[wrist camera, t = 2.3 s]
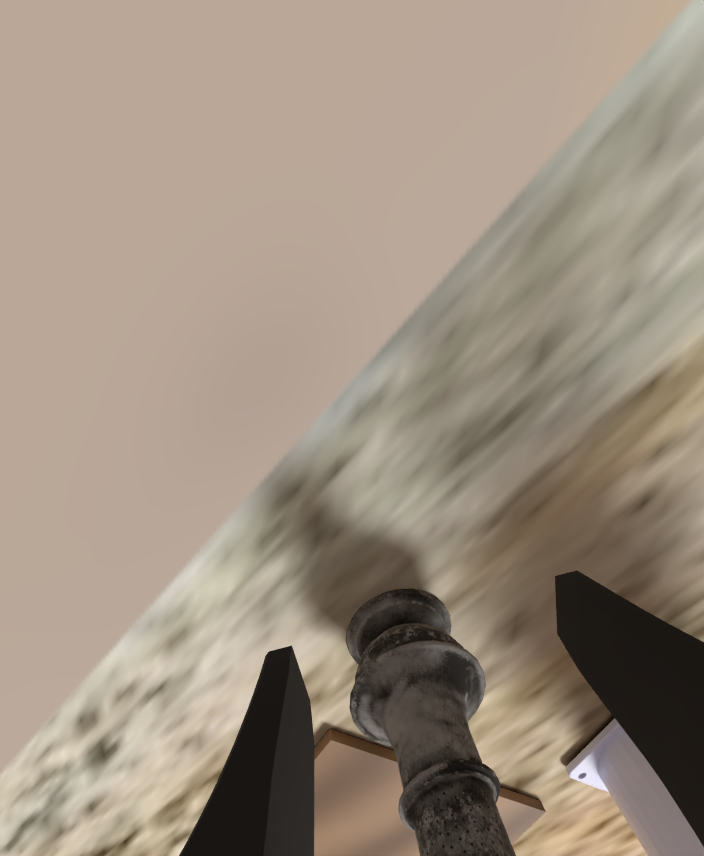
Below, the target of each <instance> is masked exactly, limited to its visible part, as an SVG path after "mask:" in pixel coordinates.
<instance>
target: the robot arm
mask: <svg viewBox="0 0 704 856" xmlns="http://www.w3.org/2000/svg"><path fill="white" fill-rule="evenodd" d="M555 586H556V610H557V634H558V636H559V637H560V639H561V641H562V642H563V644H564V646H565V648H566V649H567V651H568V653H569V655H570V656H571V658H572V659H573V661H574V663H575V664H576V666H577V668H578V669H579V671H580V672H581V674H582V675H583V676H584V678H585V679H586V681H587V682H588V683H589V685H590V686H591V687H592V689H593V690H594V691H595V693H596V694H597V695H598V697H599V698H600V699H601V701H602V702H603V703H604V705H605V706H606V707H607V709H608V710H609V711H610V712H611V714H612V715H613V716H614V719H613V720H612V721H611V722H610V723H609V724H608V725H607V726H606V727H605V728H604V729H603V730H602V731H601V732H600V733H599V734H598V735H597V736H596V737H595V738H594V739H593V740H592V741H591V742H590V743H589V744H588V745H587V746H586V747H585V748H584V749H583V750H582V751H581V752H580V753H579V754H578V755H577V756H576V757H575V758H574V759H573V760H572V761H571V762H570V763H569V764H568V765H567V767H566V772H567V774H568V775H569V777H570V778H572V779H575V780H578V781H580V782H583V783H586V784H588V785H591V786H594V787H596V788H599V789H602V790H604V791H607V792H609V793H610V795H611V796H612V798H613V799H614V801H615V803H616V804H617V806H618V808H619V809H620V811H621V812H622V814H623V816H624V817H625V819H626V821H627V822H628V824H629V825H630V827H631V829H632V830H633V832H634V834H635V835H636V837H637V838H638V840H639V842H640V843H641V845H642V847H643V848H644V850H645V851H646V853H647V855H648V856H704V642H702V641H700V640H698V639H696V638H694V637H692V636H690V635H688V634H687V633H685V632H683V631H681V630H679V629H677V628H675V627H673V626H672V625H670V624H668V623H666V622H664V621H662V620H661V619H659V618H657V617H655V616H653V615H652V614H650V613H648V612H646V611H645V610H643V609H641V608H639V607H638V606H636V605H634V604H632V603H631V602H629V601H627V600H626V599H624V598H622V597H621V596H619V595H617V594H615V593H614V592H612V591H610V590H609V589H607V588H605V587H604V586H602V585H600V584H599V583H597V582H595V581H594V580H592V579H590V578H589V577H587V576H585V575H583V574H582V573H580V572H578V571H573V572H569V573H566V574H562V575H558V576H555ZM179 856H314V737H313V725H312V715H311V705H310V699H309V696H308V693H307V690H306V687H305V684H304V681H303V678H302V675H301V672H300V669H299V666H298V663H297V660H296V657H295V654H294V651H293V648H292V646H289V647H285V648H281V649H277V650H273V651H270V652H268V653H267V655H266V656H265V660H264V663H263V666H262V670H261V673H260V676H259V679H258V682H257V685H256V688H255V691H254V693H253V696H252V699H251V702H250V705H249V707H248V710H247V712H246V715H245V717H244V720H243V723H242V725H241V728H240V730H239V733H238V735H237V738H236V740H235V743H234V745H233V747H232V750H231V752H230V754H229V756H228V759H227V761H226V763H225V765H224V768H223V770H222V772H221V774H220V777H219V779H218V781H217V783H216V785H215V788H214V790H213V792H212V794H211V796H210V798H209V800H208V802H207V804H206V806H205V808H204V810H203V812H202V814H201V816H200V818H199V820H198V822H197V824H196V826H195V827H194V829H193V831H192V833H191V835H190V837H189V839H188V841H187V843H186V844H185V846H184V848H183V850H182V852H181V853H180V855H179Z"/></svg>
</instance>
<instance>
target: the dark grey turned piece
mask: <svg viewBox="0 0 704 856" xmlns="http://www.w3.org/2000/svg"><path fill="white" fill-rule="evenodd" d="M450 632H451V620H450V615H449V613H448V611H447V609H446V608H445V606H444V604H443V603H442V602H441V601H439V600H438V599H437V598H436V597H435V596H433V595H431V594H428V593H426V592H424V591H419V590H414V589H401V590H394V591H390V592H387V593H383V594H381V595H379V596H377V597H375V598H373V599H371V600H370V601H368V602H367V603H366V604H365V605H364V606H362V607H361V608H360V609H359V610H358V612H357V613H356V614H355V616H354V617H353V618H352V620H351V623H350V625H349V628H348V631H347V645H348V648H349V652H350V654H351V656H352V657H353V659H354V660H355V661H356V663H358V664H359V665H358V669H357V672H356V676H355V684H354V687H353V689H352V692H351V696H350V712H351V715H352V718H353V722H354V723H355V725H356V726H357V727H358V729H359V730H360V731H361V733H363V734H364V735H366V736H367V737H369V738H370V739H372V740H373V741H375V742H378V743H381V744H384V745H386V746H392V748H393V750H394V752H395V755H396V758H397V763H398V768H399V772H400V777H401V781H402V786H403V793H402V795H401V797H400V799H399V805H398V810H399V814H400V818H401V821H402V822H403V823H404V824H405V826H406V827H407V828H409V829H411V830H412V831H414V832H415V835H416V839H417V844H418V848H419V853H420V856H516V855H515V852H514V850H513V847H512V845H511V842H510V839H509V837H508V834H507V832H506V829H505V826H504V824H503V821H502V819H501V816H500V814H499V811H498V808H497V806H496V802H497V801H498V797H499V793H500V784H499V780H498V778H497V776H496V774H495V773H494V771H493V770H492V769H490V768H489V767H488V766H486V765H485V764H482V761H481V758H480V756H479V753H478V751H477V748H476V746H475V743H474V741H473V738H472V735H471V733H470V730H469V727H468V721H469V720H470V719H471V717H472V716H473V715H474V714H475V713H476V711H477V709H478V707H479V706H480V704H481V702H482V700H483V696H484V691H485V686H486V684H485V677H484V672H483V670H482V668H481V666H480V664H479V662H478V660H477V659H476V658H475V657H474V656H473V655H472V654H470V653H469V652H468V651H467V650H466V649H464V648H463V647H462V646H461V645H460V644H459V643H458V642H457V641H456V640H455V639H453V638H452V637H451V636H450Z"/></svg>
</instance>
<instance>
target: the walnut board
mask: <svg viewBox="0 0 704 856" xmlns="http://www.w3.org/2000/svg"><path fill="white" fill-rule="evenodd" d="M402 793H403V786H402V781H401V777H400V772H399V768H398V763H397V758H396V755H395V752H394V751H393V750H390V749H387V748H384V747H381V746H379V745H376V744H373V743H370V742H367V741H364V740H361V739H358V738H355V737H352V736H349V735H346V734H343V733H341V732H338V731H335V730H332V729H330V730H329V731H328V732H327V733H326V735H325V736H324V737H323V738H322V740H321V741H320V742H319V743H318V744H317V746H316V747H315V748H314V856H420V853H419V848H418V844H417V839H416V835H415V832H414V831H412V830H411V829H409V828H407V827H406V826H405V824H404V823H403V822H402V821H401V818H400V814H399V810H398V805H399V799H400V797H401V795H402ZM496 806H497V808H498V811H499V814H500V816H501V819H502V821H503V824H504V826H505V829H506V832H507V834H508V837H509V839H510V842H511V845H512V844H513V843H514V842H515V841H516V840H517V839H518V838H519V837H520V836H521V835H522V834H523V833H525V832H526V831H527V830H528V829H529V828H530V827H531V826H532V825H533V824H534V823H535V822H536V821H537V820H538V819H539V818H540V817H541V816H542V815H543V814H544V813H545V812H546V811H545V809H544V807H543V805H542V803H541V801H539V800H536V799H534V798H531V797H528V796H525V795H522V794H519V793H516V792H513V791H510V790H507V789H504V788H501V787H500V793H499V797H498V801H497V802H496Z"/></svg>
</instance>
